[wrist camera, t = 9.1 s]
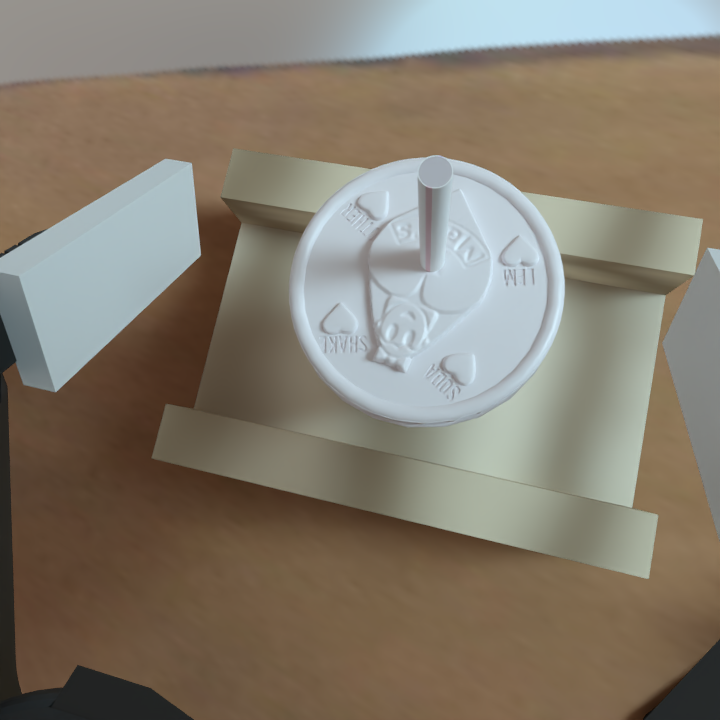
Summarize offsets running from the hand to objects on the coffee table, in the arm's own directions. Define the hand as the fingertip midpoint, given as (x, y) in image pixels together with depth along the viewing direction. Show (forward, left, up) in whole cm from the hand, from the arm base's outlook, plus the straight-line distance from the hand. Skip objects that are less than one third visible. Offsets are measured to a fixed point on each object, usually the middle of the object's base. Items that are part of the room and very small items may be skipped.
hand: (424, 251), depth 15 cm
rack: (0, +1, -11) cm, 11 cm away
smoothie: (0, +2, -8) cm, 8 cm away
